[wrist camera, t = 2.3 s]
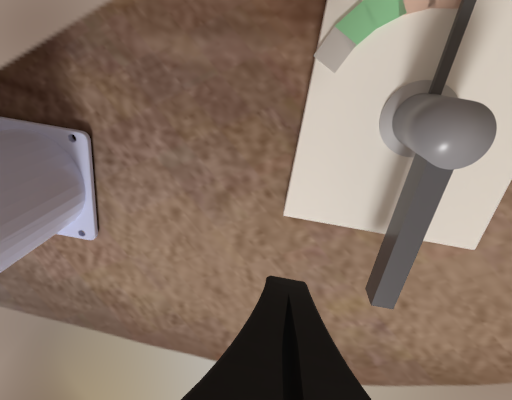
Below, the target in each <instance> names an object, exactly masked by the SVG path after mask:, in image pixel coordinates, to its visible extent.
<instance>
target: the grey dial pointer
mask: <svg viewBox="0 0 512 400" xmlns="http://www.w3.org/2000/svg"><path fill="white" fill-rule="evenodd" d="M476 1H477V0H461V3H460V5H459V8H458V11H457V14H456V17H455V19H454V22H453V25H452V28H451V31H450V33H449V36H448V39H447V42H446V45H445V47H444V50H443V53H442V56H441V58H440V61H439V64H438V67H437V70H436V72H435V75H434V78H433V81H432V84H431V86H430V89H429V92H428V93H419V94H416V95H413V96H411V97H409V98H408V99H406V100H405V101H404V102H403V103H402V104H401V105H400V106H399V107H398V109H397V110H396V112H395V114H394V117H393V121H392V128H393V133H394V135H395V137H396V138H397V140H398V141H399V142H401V143H402V144H403V145H405V146H406V147H408V148H409V149H411V150H412V151H414V152H415V156H414V159H413V161H412V164H411V167H410V169H409V172H408V175H407V178H406V180H405V183H404V186H403V188H402V191H401V194H400V196H399V199H398V202H397V205H396V207H395V210H394V213H393V215H392V218H391V221H390V223H389V226H388V229H387V231H386V234H385V237H384V240H383V242H382V245H381V248H380V250H379V253H378V256H377V258H376V261H375V264H374V266H373V269H372V272H371V275H370V277H369V280H368V283H367V285H366V288H365V289H366V292H367V295H368V298H369V301H370V304H371V305H373V306H378V307H383V308H388V309H394V306H395V304H396V302H397V299H398V297H399V295H400V292H401V290H402V288H403V285H404V283H405V281H406V279H407V276H408V274H409V272H410V269H411V267H412V265H413V262H414V260H415V258H416V256H417V253H418V251H419V249H420V246H421V244H422V242H423V239H424V237H425V235H426V232H427V230H428V228H429V226H430V223H431V221H432V219H433V216H434V214H435V212H436V209H437V207H438V205H439V202H440V200H441V198H442V196H443V193H444V191H445V189H446V186H447V184H448V182H449V179H450V177H451V175H452V173H453V170H454V169H460V168H464V167H466V166H469V165H471V164H473V163H475V162H476V161H478V160H479V159H480V158H481V157H483V156H484V155H485V154H486V152H487V151H488V150H489V149H490V147H491V145H492V144H493V142H494V139H495V136H496V131H497V124H496V119H495V116H494V114H493V113H492V111H491V110H490V109H489V108H488V107H487V106H485V105H484V104H482V103H479V102H476V101H472V100H466V99H461V98H455V97H450V96H444V95H441V94H442V91H443V88H444V86H445V83H446V80H447V78H448V75H449V72H450V70H451V67H452V64H453V62H454V59H455V56H456V54H457V51H458V48H459V46H460V43H461V41H462V38H463V35H464V33H465V30H466V27H467V25H468V22H469V19H470V17H471V14H472V11H473V9H474V6H475V3H476Z"/></svg>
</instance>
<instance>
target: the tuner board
mask: <svg viewBox="0 0 512 400" xmlns="http://www.w3.org/2000/svg"><path fill="white" fill-rule="evenodd" d="M460 3H461V0H326V5H325V10H324V15H323V20H322V24H321V29H320V34H319V39H318V44H317V49H316V53H315V54H314V57H315V59H314V64H313V68H312V73H311V78H310V83H309V88H308V93H307V98H306V103H305V108H304V112H303V117H302V122H301V127H300V132H299V137H298V142H297V147H296V152H295V156H294V161H293V166H292V171H291V176H290V181H289V186H288V191H287V196H286V200H285V205H284V214H283V216H289V217H294V218H300V219H305V220H311V221H317V222H322V223H328V224H333V225H339V226H344V227H350V228H355V229H361V230H366V231H372V232H377V233H383V234H386V231H387V229H388V226H389V223H390V221H391V218H392V215H393V213H394V210H395V207H396V205H397V202H398V199H399V196H400V194H401V191H402V188H403V186H404V183H405V180H406V178H407V175H408V172H409V169H410V167H411V164H412V161H413V159H414V156H415V152H414V151H412V150H411V149H409V148H408V147H406V146H405V145H403V144H402V143H401V142H399V141H398V140H397V138H396V137H395V135H394V133H393V128H392V121H393V117H394V114H395V112H396V110H397V109H398V107H399V106H400V105H401V104H402V103H403V102H404V101H405V100H406V99H408V98H409V97H411V96H413V95H416V94H419V93H428V92H429V89H430V86H431V84H432V81H433V78H434V75H435V72H436V70H437V67H438V64H439V61H440V58H441V56H442V53H443V50H444V47H445V45H446V42H447V39H448V36H449V33H450V31H451V28H452V25H453V22H454V19H455V17H456V14H457V11H458V8H459V5H460ZM441 95H444V96H450V97H455V98H461V99H466V100H472V101H476V102H479V103H482V104H484V105H485V106H487V107H488V108H489V109H490V110H491V111H492V113H493V114H494V116H495V119H496V124H497V131H496V136H495V139H494V142H493V144H492V145H491V147H490V149H489V150H488V151H487V152H486V154H485V155H484V156H483V157H481V158H480V159H479V160H478V161H476V162H475V163H473V164H471V165H469V166H466V167H464V168H460V169H454V170H453V173H452V175H451V177H450V179H449V182H448V184H447V186H446V189H445V191H444V193H443V196H442V198H441V200H440V202H439V205H438V207H437V209H436V212H435V214H434V216H433V219H432V221H431V223H430V226H429V228H428V230H427V232H426V235H425V237H424V239H423V241H427V242H433V243H438V244H444V245H449V246H455V247H461V248H466V249H472V250H475V248H476V246H477V245H478V243H479V241H480V239H481V237H482V235H483V233H484V231H485V229H486V227H487V225H488V224H489V222H490V220H491V218H492V216H493V214H494V212H495V210H496V208H497V206H498V204H499V202H500V201H501V199H502V197H503V195H504V193H505V191H506V189H507V187H508V185H509V183H510V181H511V180H512V0H477V1H476V3H475V6H474V9H473V11H472V14H471V17H470V19H469V22H468V25H467V27H466V30H465V33H464V35H463V38H462V41H461V43H460V46H459V48H458V51H457V54H456V56H455V59H454V62H453V64H452V67H451V70H450V72H449V75H448V78H447V80H446V83H445V86H444V88H443V91H442V94H441Z"/></svg>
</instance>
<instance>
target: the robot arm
mask: <svg viewBox="0 0 512 400" xmlns="http://www.w3.org/2000/svg"><path fill="white" fill-rule="evenodd" d="M72 135H74V136H75V137H76V141H75V140H74V139H73V137H72ZM82 231H84V232H85V233H83V232H82ZM55 234H60V235H65V236H70V237H76V238H81V239H86V240H93V239H95V238H96V237H97V236H98V229H97V216H96V203H95V190H94V177H93V164H92V151H91V139H90V136H89V135H88V134H87V133H86V132H84V131H81V130H75V129H69V128H63V127H58V126H52V125H46V124H40V123H35V122H29V121H23V120H17V119H12V118H6V117H0V273H1V272H2V271H3V270H5V269H6V268H8V267H9V266H11V265H12V264H13V263H15V262H16V261H18V260H19V259H21V258H22V257H23V256H25V255H26V254H28V253H29V252H31V251H32V250H33V249H35V248H36V247H38V246H39V245H41V244H42V243H43V242H45V241H46V240H48V239H49V238H51V237H52V236H53V235H55ZM181 400H371V398H370V397H369V396H368V394H367V393H366V391H365V390H364V389H363V387H362V386H361V385H360V383H359V382H358V380H357V379H356V377H355V376H354V374H353V373H352V371H351V370H350V368H349V367H348V365H347V364H346V362H345V360H344V359H343V357H342V356H341V354H340V352H339V350H338V349H337V347H336V345H335V344H334V342H333V340H332V338H331V336H330V335H329V333H328V331H327V329H326V327H325V325H324V323H323V321H322V319H321V317H320V315H319V313H318V311H317V309H316V306H315V304H314V302H313V300H312V297H311V295H310V292H309V290H308V287H307V285H306V283H305V282H302V281H296V280H291V279H286V278H280V277H275V276H269V277H267V278H266V283H265V287H264V290H263V292H262V294H261V297H260V299H259V301H258V303H257V305H256V306H255V308H254V310H253V312H252V314H251V315H250V317H249V319H248V320H247V322H246V323H245V325H244V326H243V328H242V329H241V331H240V332H239V334H238V335H237V337H236V338H235V340H234V341H233V342H232V344H231V345H230V346H229V348H228V349H227V350H226V351H225V353H224V354H223V355H222V356H221V358H220V359H219V360H218V361H217V362H216V363H215V365H214V366H213V367H212V368H211V369H210V370H209V371H208V373H207V374H206V375H205V376H204V377H203V378H202V379H201V380H200V382H198V383H197V384H196V385H195V386H194V387H193V388H192V389H191V390H190V391H189V392H188V393H187V394H186V395H185V396H184V397H183V398H182V399H181Z"/></svg>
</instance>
